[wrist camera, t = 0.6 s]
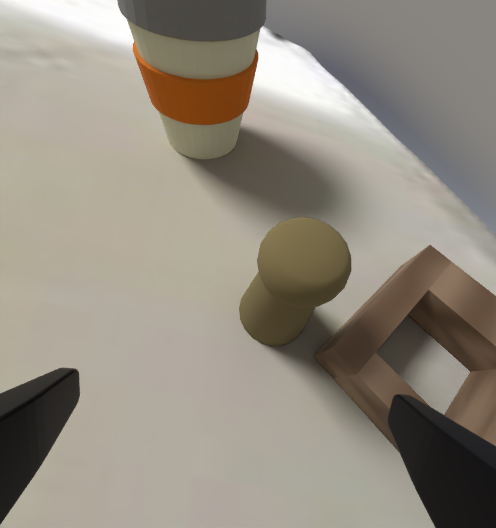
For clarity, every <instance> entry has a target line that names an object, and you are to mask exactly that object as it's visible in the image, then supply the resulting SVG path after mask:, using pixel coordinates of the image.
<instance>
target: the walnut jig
mask: <svg viewBox="0 0 496 528" xmlns="http://www.w3.org/2000/svg"><path fill="white" fill-rule="evenodd" d="M407 314H408V315H409V316H410V317H411V318H412V319H413V320H414V321H416V322H417V323H418V324H419V325H420V326H421V327H422V328H423V329H424V330H426V331H427V332H428V333H429V334H430V335H431V336H432V337H433V338H434V339H435V340H437V341H438V342H439V343H440V344H441V345H442V346H443V347H444V348H445V349H446V350H448V351H449V352H450V353H451V354H452V355H453V356H454V357H455V358H456V359H458V360H459V361H460V362H461V363H462V364H463V365H464V366H465V367H466V368H467V369H469V370H470V371H471V372H470V374H469V375H468V377H467V379H466V380H465V382H464V384H463V385H462V387H461V389H460V390H459V392H458V393H457V395H456V397H455V398H454V400H453V402H452V403H451V405H450V407H449V408H448V410H447V412H446V413H445V415H444V416H446V417H448V418H449V419H451V420H453V421H454V422H456V423H458V424H460V425H461V426H463V427H465V428H466V429H468V430H470V431H471V432H473V433H475V434H476V435H478V436H480V437H481V438H483V439H485V440H486V441H488V442H490V443H491V444H493V445H495V446H496V296H495V295H494V294H492V293H491V292H490V291H489V290H487V289H486V288H485V287H483V286H482V285H481V284H480V283H478V282H477V281H476V280H474V279H473V278H472V277H471V276H469V275H468V274H467V273H465V272H464V271H463V270H462V269H460V268H459V267H458V266H456V265H455V264H454V263H453V262H451V261H450V260H449V259H448V258H446V257H445V256H444V255H442V254H441V253H440V252H439V251H437V250H436V249H435V248H433V247H432V246H431V245H429V246H428V247H427V248H425V249H424V250H422V251H421V252H420V253H418V254H417V255H416V256H414V257H413V258H411V259H410V260H409V261H407V262H406V263H405V264H403V265H402V266H401V267H400V268H399V269H398V270H397V271H396V272H395V273H394V274H393V275H392V276H391V277H390V278H389V279H388V280H387V281H386V282H385V283H384V284H383V285H382V286H381V287H380V288H379V289H378V290H377V291H376V292H375V294H374V295H373V296H372V297H371V298H370V299H369V300H368V301H367V302H366V303H365V304H364V305H363V306H362V307H361V308H360V309H359V310H358V311H357V312H356V313H355V314H354V315H353V316H352V317H351V318H350V319H349V320H348V321H347V322H346V323H345V324H344V325H343V326H342V327H341V328H340V329H339V330H338V331H337V333H336V334H335V335H334V336H333V337H332V338H331V339H330V340H329V341H328V342H327V343H326V344H325V345H324V346H323V347H322V348H321V349H320V350H319V351H318V352H317V353H316V354H315V355H314V357H315V358H316V360H317V361H318V362H319V363H320V364H321V365H322V366H323V367H324V368H325V370H326V371H327V372H328V373H329V374H330V375H331V376H332V377H333V379H334V380H335V381H336V382H337V383H338V384H339V385H340V386H341V387H342V389H343V390H344V391H345V392H346V393H347V394H348V395H349V396H350V398H351V399H352V400H353V401H354V402H355V403H356V404H357V405H358V406H359V408H360V409H361V410H362V411H363V412H364V413H365V414H366V415H367V416H368V418H369V419H370V420H371V421H372V422H373V423H374V424H375V425H376V427H377V428H378V429H379V430H380V431H381V432H382V433H383V434H384V435H385V437H386V438H387V439H388V440H389V441H390V442H391V443H392V444H393V446H394V447H395V448H396V449H397V450H398V447H397V445H396V443H395V440H394V438H393V436H392V433H391V431H390V429H389V426H388V421H387V418H388V413H389V410H390V406H391V402H392V399H393V397H394V395H396V394H404V395H411V396H413V397H414V398H416V399H418V400H419V401H421V402H423V403H424V404H426V405H428V404H427V403H426V402H425V401H424V400H423V399H422V398H421V397H420V396H419V395H418V394H417V393H416V392H415V391H414V390H413V389H412V388H411V387H410V386H409V385H408V384H407V383H406V382H405V381H404V380H403V379H402V378H401V377H400V376H399V375H398V374H397V373H396V372H395V371H394V370H393V369H392V368H391V367H390V366H389V365H388V364H387V363H386V362H385V361H384V360H383V359H382V358H381V357H380V356H379V355H378V354H377V353H376V351H377V350H378V349H379V348H380V346H381V345H382V344H383V343H384V342H385V341H386V339H387V338H388V337H389V336H390V335H391V333H392V332H393V331H394V330H395V329H396V327H397V326H398V325H399V324H400V323H401V322H402V320H403V319H404V318H405V317H406V316H407ZM428 406H429V405H428ZM429 407H430V406H429ZM398 451H399V450H398Z"/></svg>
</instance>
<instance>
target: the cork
mask: <svg viewBox="0 0 496 528" xmlns="http://www.w3.org/2000/svg"><path fill="white" fill-rule="evenodd" d="M257 263H258V270H259V272H258V274H257V275H256V277H255V278H254V280H253V281H252V283H251V284H250V286H249V288H248V289H247V291H246V292H245V294H244V295H243V297H242V299H241V303H240V307H239V311H240V319H241V322H242V324H243V326H244V328H245V330H246V331H247V332H248V333H249V334H250V335H251V337H252V338H254V339H256V340H257V341H259V342H261V343H263V344H267V345H272V346H276V345H284V344H286V343H289V342H291V341H293V340H294V339H295V338H296V337H297V336H298V335H299V334H300V333H301V331H302V330H303V328H304V326H305V324H306V323H307V321H308V319H309V317H310V316H311V314H312V312H313V310H314V309H315V307H316V306H320V305H322V304H324V303H327V302H329V301H331V300H332V299H333V298H335V297H336V296H337V295H338V294H339V293H340V292H341V291H342V290H343V289H344V287H345V285H346V283H347V280H348V278H349V275H350V273H351V255H350V252H349V249H348V246H347V243H346V242H345V240H344V239H343V237H342V236H341V235H340V233H339V232H337V231H336V230H335V229H334V228H333V227H331V226H330V225H328V224H326V223H324V222H322V221H320V220H317V219H313V218H308V217H299V218H293V219H290V220H286V221H283V222H281V223H279V224H278V225H276V226H275V227H274V228H272V229H271V230H270V231H269V232H268V234H267V235H266V237H265V238H264V240H263V241H262V243H261V245H260V249H259V254H258V259H257Z"/></svg>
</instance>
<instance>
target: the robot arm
mask: <svg viewBox="0 0 496 528" xmlns="http://www.w3.org/2000/svg"><path fill="white" fill-rule="evenodd" d="M79 396H80V386H79V372H78V370H77V369H74V368H59V369H57V370H54V371H52V372H50V373H47V374H45V375H43V376H40V377H38V378H36V379H33V380H31V381H29V382H26V383H24V384H22V385H19V386H17V387H15V388H12V389H10V390H8V391H5V392H3V393H1V394H0V524H1V523H2V521H3V520H4V518H5V517H6V516H7V514H8V513H9V511H10V510H11V508H12V507H13V506H14V504H15V503H16V501H17V500H18V498H19V497H20V495H21V494H22V493H23V491H24V490H25V488H26V487H27V485H28V484H29V483H30V481H31V480H32V478H33V477H34V475H35V474H36V472H37V471H38V469H39V468H40V466H41V465H42V463H43V461H44V460H45V458H46V456H47V455H48V453H49V451H50V450H51V448H52V446H53V445H54V443H55V441H56V439H57V438H58V436H59V434H60V432H61V431H62V429H63V427H64V426H65V424H66V422H67V420H68V419H69V417H70V415H71V414H72V412H73V410H74V408H75V407H76V405H77V403H78V400H79ZM387 421H388V426H389V429H390V431H391V433H392V436H393V438H394V440H395V443H396V445H397V447H398V450H399V452H400V454H401V457H402V459H403V461H404V464H405V466H406V468H407V471H408V473H409V475H410V478H411V480H412V482H413V484H414V486H415V489H416V491H417V493H418V495H419V497H420V499H421V501H422V503H423V504H424V506H425V508H426V510H427V512H428V514H429V516H430V518H431V520H432V522H433V524H434V526H435V528H496V446H495V445H493V444H491V443H490V442H488V441H486V440H485V439H483V438H481V437H480V436H478V435H476V434H475V433H473V432H471V431H470V430H468V429H466V428H465V427H463V426H461V425H460V424H458V423H456V422H454V421H453V420H451V419H449V418H448V417H446V416H444V415H443V414H441V413H439V412H438V411H436V410H434V409H433V408H431V407H429V406H428V405H426V404H424V403H423V402H421V401H419V400H418V399H416V398H414V397H413V396H411V395H404V394H396V395H394V397H393V399H392V402H391V406H390V410H389V413H388V418H387Z"/></svg>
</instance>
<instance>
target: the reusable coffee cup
mask: <svg viewBox="0 0 496 528" xmlns="http://www.w3.org/2000/svg"><path fill="white" fill-rule="evenodd" d="M118 6H119V9H120V11H121V13H122V14H123V15H124V16H125V18H126V19H127V21H128V24H129V27H130V30H131V33H132V35H133V38H134V43H133V52H134V55H135V57H136V60H137V63H138V66H139V69H140V71H141V74H142V77H143V80H144V83H145V85H146V88H147V91H148V94H149V97H150V99H151V102H152V104H153V105H154V107H155V108H156V109H157V110H158V111H159V114H160V117H161V120H162V122H163V125H164V128H165V131H166V134H167V137H168V140H169V142H170V144H171V146H172V147H173V148H174V149H175V150H176V151H177V152H179V153H181V154H182V155H185V156H187V157H190V158H195V159H214V158H218V157H221V156H224V155H226V154H227V153H229V152H230V151H231V150H233V148H234V147H235V145H236V143H237V139H238V134H239V129H240V124H241V120H242V115H243V112H244V111H245V110H246V108H247V106H248V103H249V99H250V94H251V90H252V85H253V81H254V76H255V72H256V67H257V62H258V52H257V50H256V47H257V42H258V37H259V32H260V28H261V27H262V26H263V25H264V22H265V20H266V0H118Z"/></svg>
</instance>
